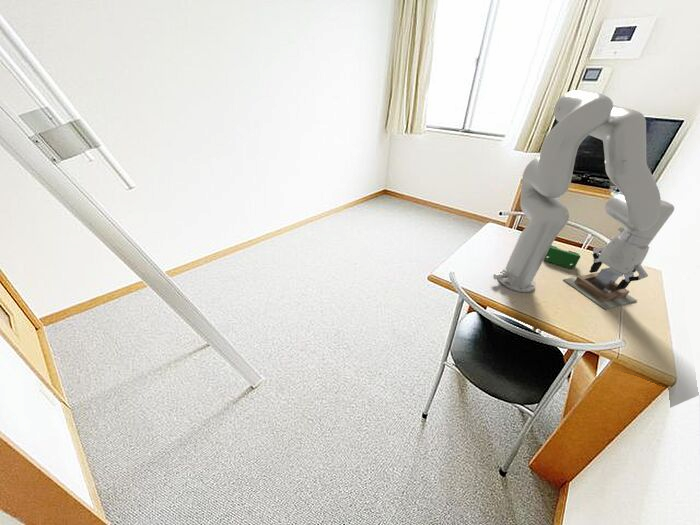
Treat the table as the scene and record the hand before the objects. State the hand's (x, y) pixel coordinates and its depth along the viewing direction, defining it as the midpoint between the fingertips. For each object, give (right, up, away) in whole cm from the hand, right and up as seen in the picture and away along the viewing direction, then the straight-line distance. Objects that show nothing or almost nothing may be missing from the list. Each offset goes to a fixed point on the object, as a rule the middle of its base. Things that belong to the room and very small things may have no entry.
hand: (605, 280), depth 106 cm
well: (0, -4, +3) cm, 5 cm away
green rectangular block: (-5, +6, +18) cm, 19 cm away
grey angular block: (0, -4, +2) cm, 4 cm away
